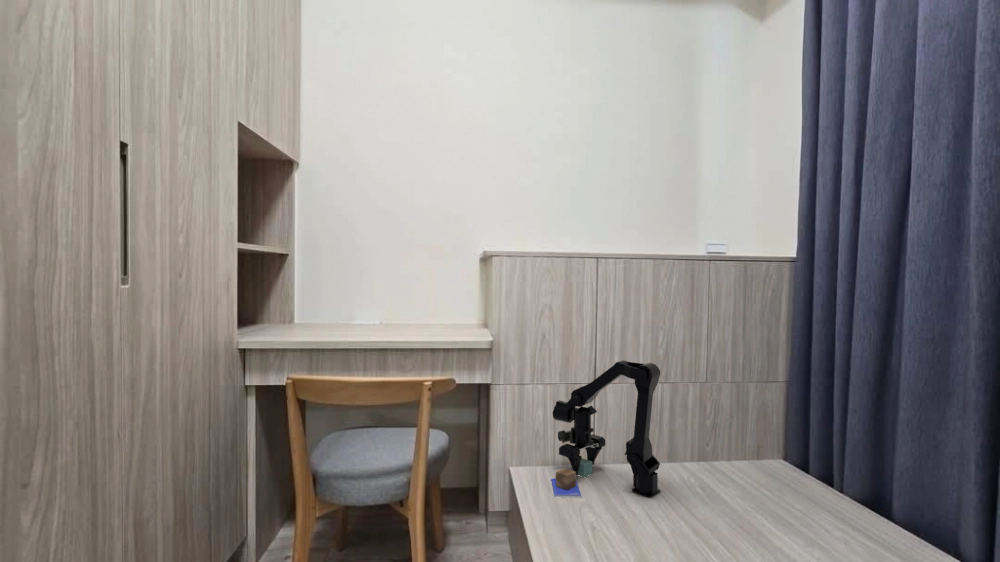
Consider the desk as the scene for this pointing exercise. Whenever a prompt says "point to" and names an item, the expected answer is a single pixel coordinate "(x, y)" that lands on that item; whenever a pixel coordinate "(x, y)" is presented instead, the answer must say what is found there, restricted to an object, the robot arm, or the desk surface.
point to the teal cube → (585, 468)
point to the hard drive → (565, 491)
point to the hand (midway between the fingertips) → (582, 471)
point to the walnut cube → (565, 479)
